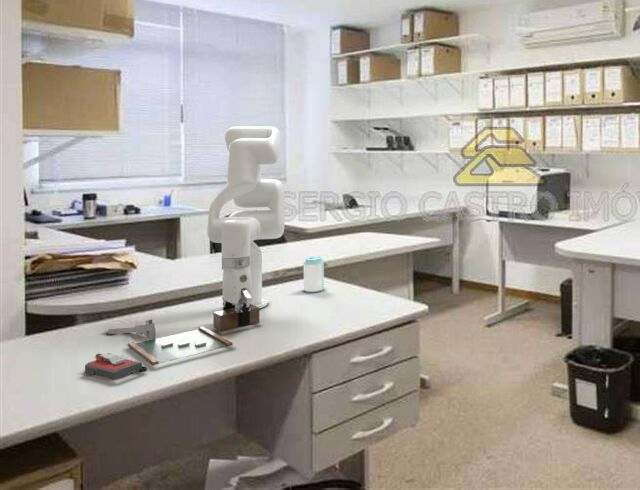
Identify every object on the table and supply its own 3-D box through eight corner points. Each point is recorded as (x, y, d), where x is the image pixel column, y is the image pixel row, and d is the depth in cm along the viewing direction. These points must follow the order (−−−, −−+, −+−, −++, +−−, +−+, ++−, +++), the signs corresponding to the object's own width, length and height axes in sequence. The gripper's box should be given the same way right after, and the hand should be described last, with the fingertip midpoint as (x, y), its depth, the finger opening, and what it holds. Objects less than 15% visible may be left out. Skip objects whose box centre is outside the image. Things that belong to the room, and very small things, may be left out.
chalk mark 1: (161, 346, 148) (161, 344, 148) (171, 343, 149) (171, 341, 149) (162, 347, 147) (162, 345, 147) (172, 344, 149) (172, 343, 149)
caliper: (155, 342, 154) (155, 319, 154) (152, 344, 153) (151, 320, 153) (109, 332, 162) (108, 310, 162) (105, 333, 161) (104, 311, 161)
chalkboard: (128, 349, 149) (128, 342, 149) (202, 332, 162) (202, 326, 162) (153, 369, 135) (153, 362, 135) (232, 349, 149) (232, 342, 149)
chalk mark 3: (194, 345, 148) (194, 343, 148) (204, 343, 150) (204, 341, 150) (196, 346, 147) (196, 344, 147) (206, 344, 149) (206, 342, 149)
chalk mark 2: (177, 345, 148) (177, 344, 148) (187, 343, 150) (187, 341, 150) (179, 347, 147) (179, 345, 147) (189, 344, 149) (189, 342, 149)
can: (300, 292, 207) (299, 259, 206) (309, 287, 214) (309, 255, 213) (318, 293, 205) (318, 260, 205) (327, 288, 212) (327, 256, 212)
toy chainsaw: (156, 371, 134) (101, 359, 142) (156, 353, 134) (101, 341, 142) (118, 386, 126) (62, 372, 134) (118, 366, 126) (62, 353, 134)
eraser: (213, 331, 163) (213, 312, 163) (251, 322, 171) (251, 304, 171) (220, 335, 159) (220, 315, 159) (259, 326, 168) (259, 307, 168)
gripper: (262, 264, 162) (262, 325, 161) (236, 258, 173) (236, 314, 173) (235, 268, 156) (235, 331, 156) (210, 261, 168) (210, 319, 168)
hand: (236, 322), depth 165 cm, fingers open, 9 cm apart
